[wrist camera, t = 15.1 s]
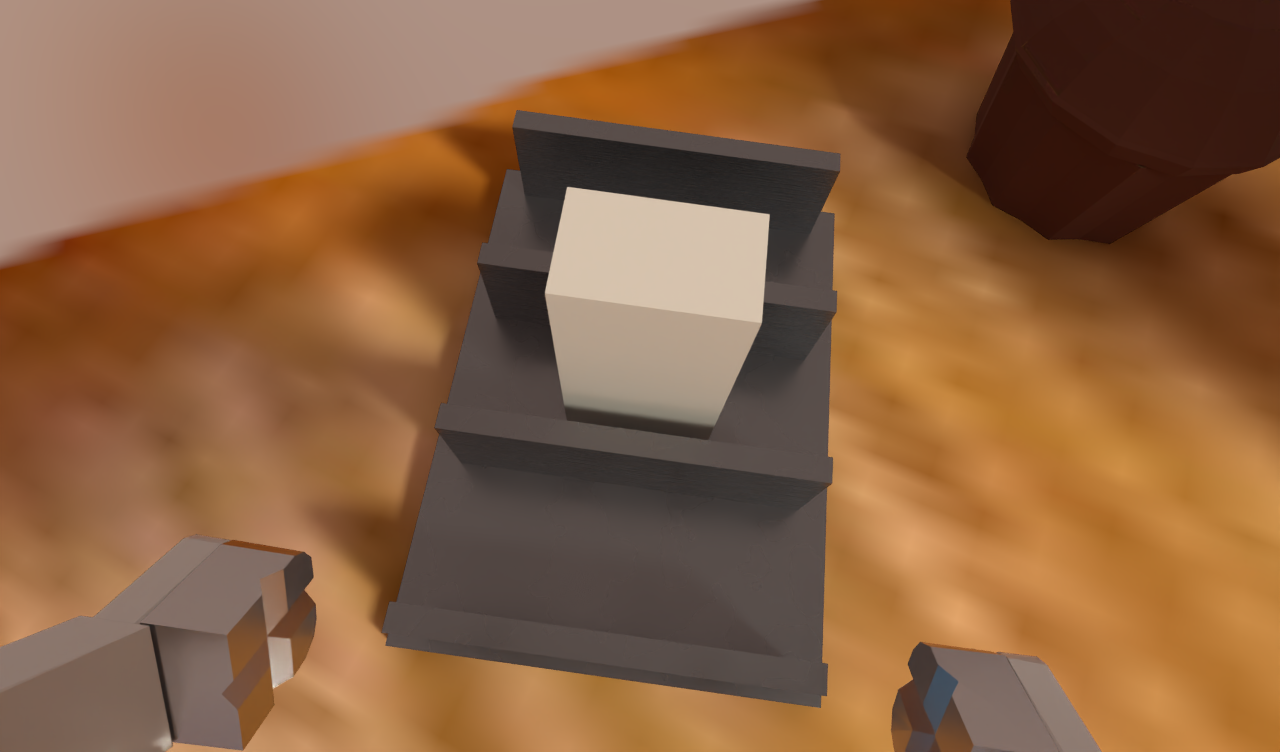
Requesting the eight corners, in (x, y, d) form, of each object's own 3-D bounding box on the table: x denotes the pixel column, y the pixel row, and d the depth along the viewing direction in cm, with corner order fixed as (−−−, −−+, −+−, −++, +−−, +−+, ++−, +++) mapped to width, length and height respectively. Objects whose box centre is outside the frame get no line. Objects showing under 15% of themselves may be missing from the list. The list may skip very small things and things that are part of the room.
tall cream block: (581, 353, 26) (567, 186, 17) (712, 371, 26) (769, 214, 17) (568, 428, 25) (544, 293, 16) (704, 447, 25) (762, 323, 16)
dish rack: (510, 184, 30) (492, 98, 25) (827, 227, 30) (867, 148, 25) (394, 646, 23) (340, 642, 18) (812, 705, 23) (864, 718, 18)
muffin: (1196, 117, 33) (1421, -90, 24) (1180, 304, 29) (1444, 141, 20) (957, 44, 35) (1084, -180, 25) (910, 214, 30) (1041, 21, 21)
